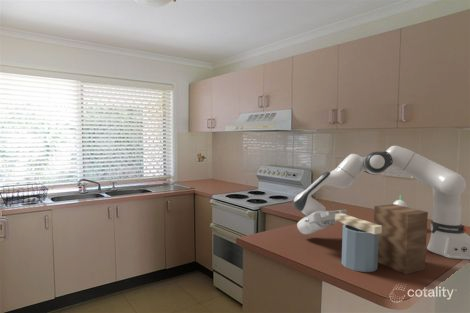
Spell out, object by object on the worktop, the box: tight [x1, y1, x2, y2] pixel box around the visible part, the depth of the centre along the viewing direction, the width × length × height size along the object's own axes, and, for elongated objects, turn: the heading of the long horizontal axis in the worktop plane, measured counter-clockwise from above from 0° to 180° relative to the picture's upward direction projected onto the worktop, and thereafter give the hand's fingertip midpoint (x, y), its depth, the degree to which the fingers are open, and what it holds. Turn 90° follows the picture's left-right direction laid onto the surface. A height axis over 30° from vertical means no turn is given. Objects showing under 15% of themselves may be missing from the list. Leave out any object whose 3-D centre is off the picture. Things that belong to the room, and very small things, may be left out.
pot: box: [341, 224, 379, 273], centre depth 130 cm, size 14×14×16 cm
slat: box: [335, 213, 382, 234], centre depth 132 cm, size 22×4×3 cm, turn 24°
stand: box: [373, 203, 429, 275], centre depth 131 cm, size 16×12×24 cm
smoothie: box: [392, 194, 409, 208], centre depth 185 cm, size 8×8×20 cm
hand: (337, 211), depth 142 cm, fingers open, 8 cm apart
